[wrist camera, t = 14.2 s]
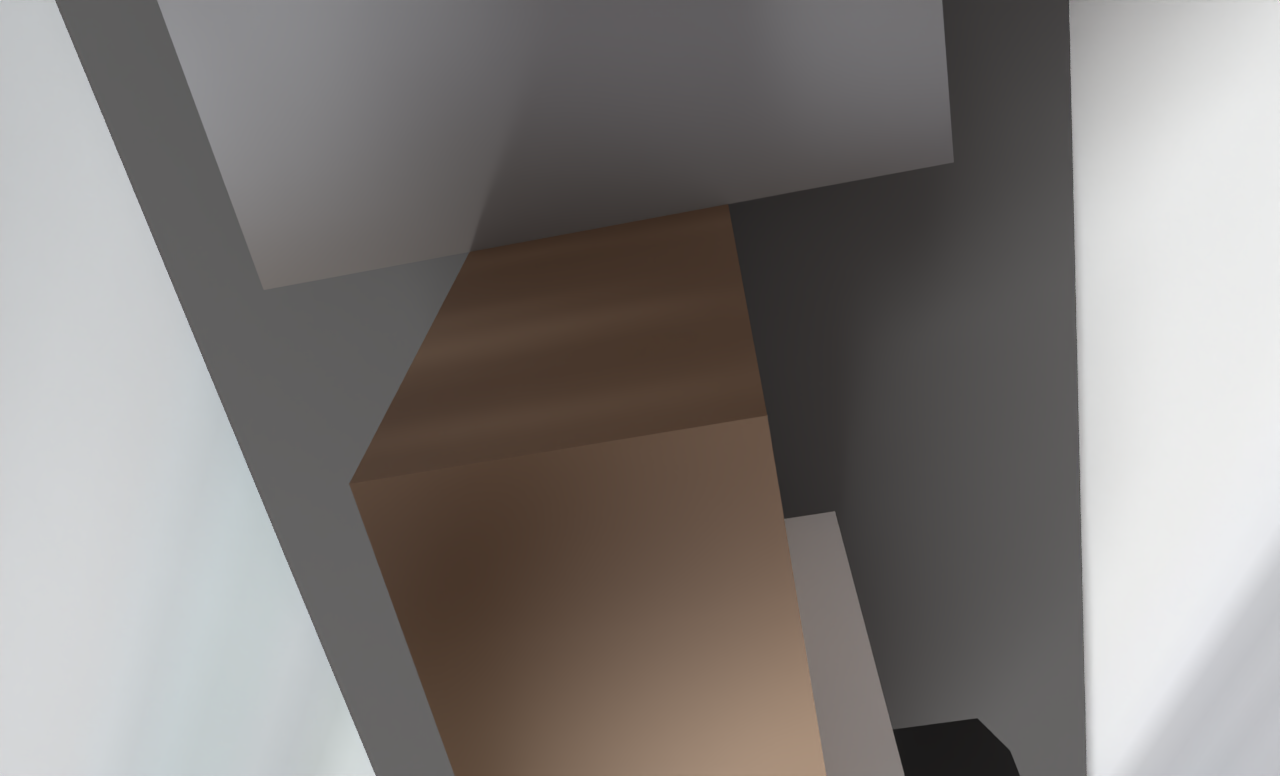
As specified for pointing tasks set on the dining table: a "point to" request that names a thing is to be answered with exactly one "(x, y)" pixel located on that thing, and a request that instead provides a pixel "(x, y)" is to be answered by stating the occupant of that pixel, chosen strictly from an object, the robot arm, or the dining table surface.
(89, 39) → the mat
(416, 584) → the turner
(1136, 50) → the dining table surface
